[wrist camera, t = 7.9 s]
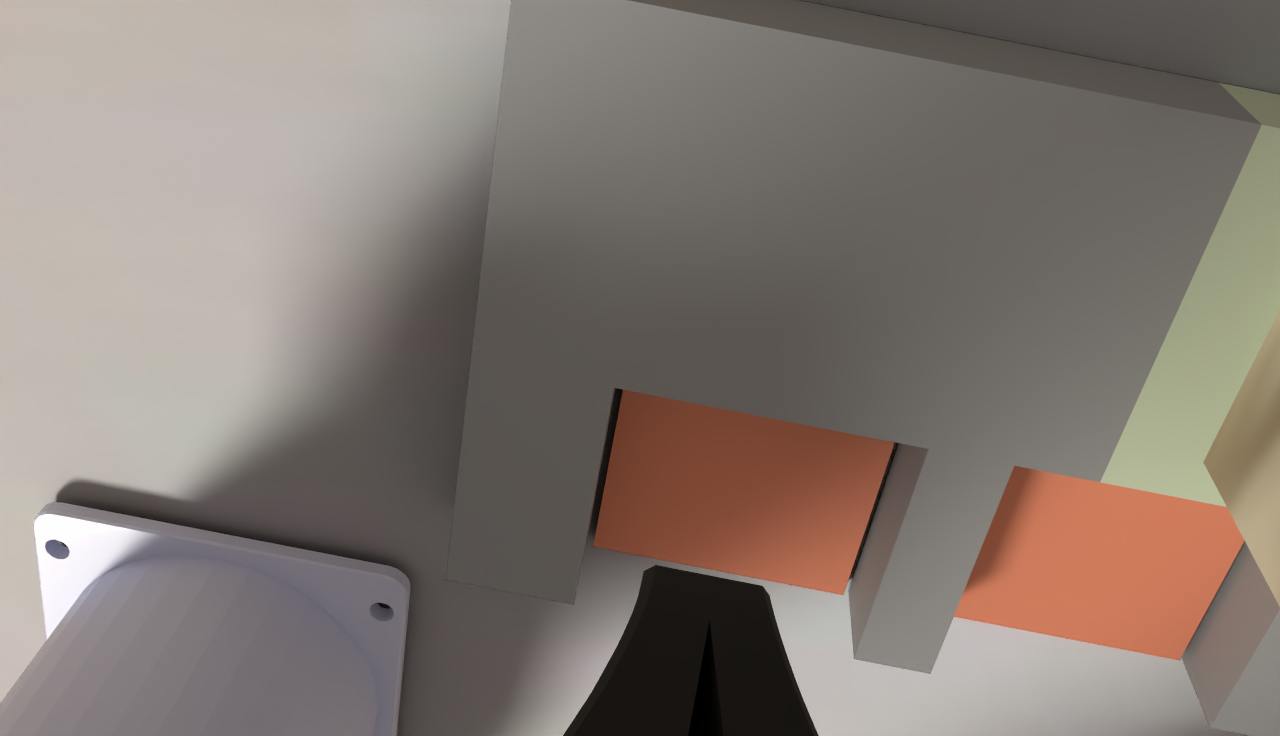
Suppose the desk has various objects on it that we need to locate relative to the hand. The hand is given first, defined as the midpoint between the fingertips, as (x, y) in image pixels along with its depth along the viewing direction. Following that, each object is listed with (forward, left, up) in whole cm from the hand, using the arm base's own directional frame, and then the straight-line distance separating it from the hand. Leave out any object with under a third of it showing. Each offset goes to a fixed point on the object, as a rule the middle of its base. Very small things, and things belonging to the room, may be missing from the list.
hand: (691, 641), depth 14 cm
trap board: (-1, -5, -9) cm, 11 cm away
